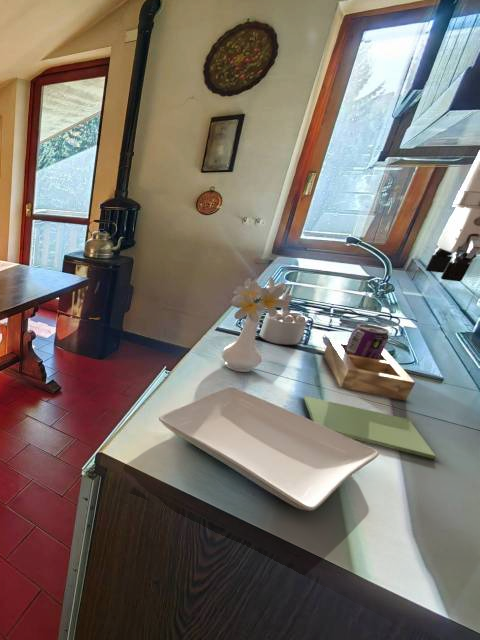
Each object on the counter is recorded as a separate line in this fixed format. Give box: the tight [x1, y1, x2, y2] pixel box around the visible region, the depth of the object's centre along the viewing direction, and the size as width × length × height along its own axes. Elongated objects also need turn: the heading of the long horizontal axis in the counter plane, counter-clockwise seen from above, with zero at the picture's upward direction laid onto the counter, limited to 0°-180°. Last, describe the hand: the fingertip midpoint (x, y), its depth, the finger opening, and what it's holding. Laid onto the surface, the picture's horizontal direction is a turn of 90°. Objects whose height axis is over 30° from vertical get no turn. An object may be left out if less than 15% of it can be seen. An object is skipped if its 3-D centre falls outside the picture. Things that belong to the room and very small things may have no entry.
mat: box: [303, 395, 437, 460], centre depth 84 cm, size 18×14×1 cm
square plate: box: [158, 385, 380, 512], centre depth 76 cm, size 27×27×4 cm
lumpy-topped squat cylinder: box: [259, 309, 309, 345], centre depth 127 cm, size 10×13×9 cm
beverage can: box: [344, 323, 390, 360], centre depth 106 cm, size 7×7×12 cm
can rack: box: [323, 339, 416, 401], centre depth 104 cm, size 12×22×5 cm, turn 149°
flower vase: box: [220, 276, 294, 373], centre depth 103 cm, size 13×18×25 cm
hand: (442, 275), depth 94 cm, fingers open, 9 cm apart
